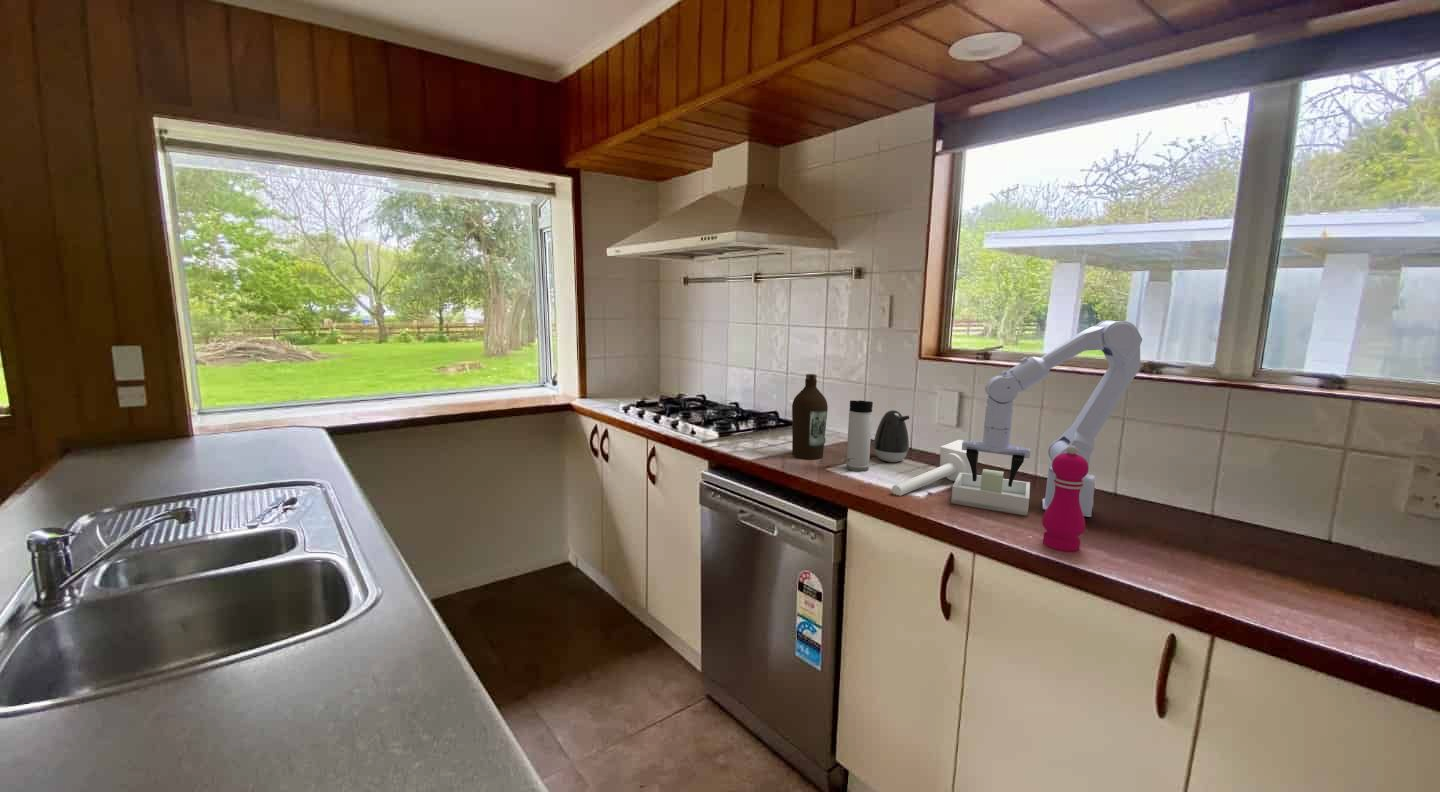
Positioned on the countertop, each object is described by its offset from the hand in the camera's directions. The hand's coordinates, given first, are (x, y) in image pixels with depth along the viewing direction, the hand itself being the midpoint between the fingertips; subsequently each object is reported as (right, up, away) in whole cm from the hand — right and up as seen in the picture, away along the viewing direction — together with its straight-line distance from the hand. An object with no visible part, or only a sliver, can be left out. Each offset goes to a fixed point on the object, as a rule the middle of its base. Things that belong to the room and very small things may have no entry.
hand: (992, 482), depth 139 cm
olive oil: (-38, +2, +39) cm, 55 cm away
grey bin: (0, -4, +1) cm, 4 cm away
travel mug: (-26, 0, +26) cm, 37 cm away
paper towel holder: (-9, -3, +12) cm, 15 cm away
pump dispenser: (-14, +1, +36) cm, 39 cm away
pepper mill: (+2, -9, -25) cm, 26 cm away
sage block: (0, -3, 0) cm, 3 cm away
